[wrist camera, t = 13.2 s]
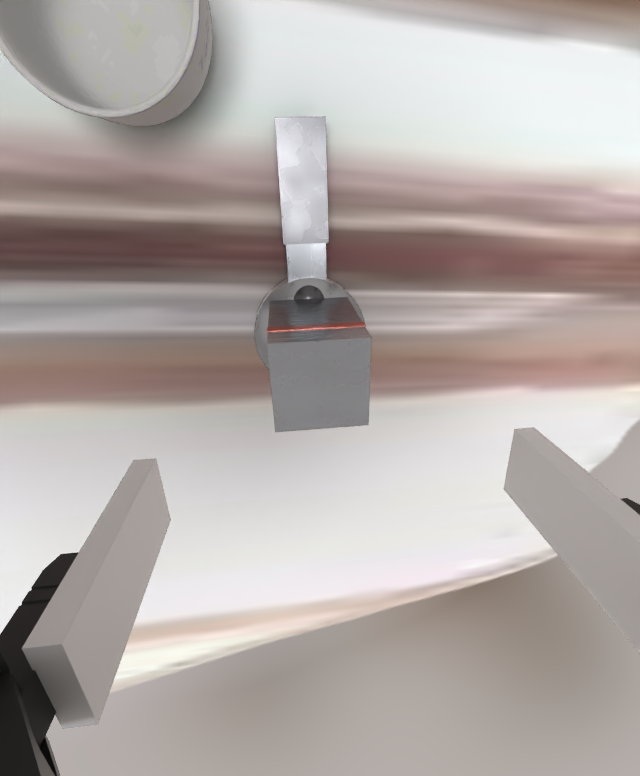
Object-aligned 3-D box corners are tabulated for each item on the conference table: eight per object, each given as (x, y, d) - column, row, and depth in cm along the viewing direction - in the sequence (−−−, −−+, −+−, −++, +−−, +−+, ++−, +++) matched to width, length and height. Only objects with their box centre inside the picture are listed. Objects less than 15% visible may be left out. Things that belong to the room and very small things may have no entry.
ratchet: (235, 125, 28) (221, 96, 21) (360, 122, 29) (385, 93, 22) (261, 379, 36) (256, 417, 29) (359, 372, 37) (377, 408, 30)
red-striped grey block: (275, 372, 33) (274, 432, 25) (268, 300, 30) (265, 343, 23) (347, 367, 34) (369, 425, 26) (347, 296, 31) (372, 336, 23)
